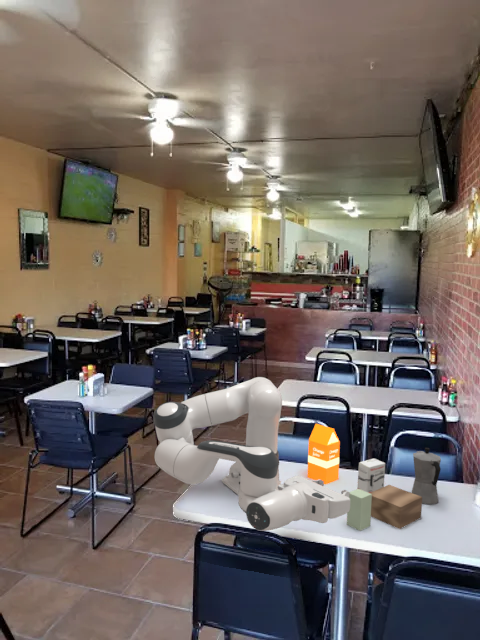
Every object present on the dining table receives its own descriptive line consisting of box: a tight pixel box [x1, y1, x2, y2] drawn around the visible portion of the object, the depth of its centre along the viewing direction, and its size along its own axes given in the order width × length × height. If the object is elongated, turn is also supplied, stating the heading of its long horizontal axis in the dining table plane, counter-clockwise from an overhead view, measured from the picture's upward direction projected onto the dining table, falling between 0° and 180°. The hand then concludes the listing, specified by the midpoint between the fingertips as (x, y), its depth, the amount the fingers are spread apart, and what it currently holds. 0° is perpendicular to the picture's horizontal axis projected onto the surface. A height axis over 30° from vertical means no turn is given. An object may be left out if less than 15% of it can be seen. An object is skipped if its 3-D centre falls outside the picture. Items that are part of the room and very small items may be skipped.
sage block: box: [346, 488, 372, 532], centre depth 154 cm, size 5×5×10 cm
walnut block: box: [370, 484, 423, 530], centre depth 161 cm, size 12×12×7 cm
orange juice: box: [307, 423, 341, 485], centre depth 189 cm, size 8×9×20 cm
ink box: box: [356, 458, 386, 493], centre depth 176 cm, size 8×5×12 cm, turn 123°
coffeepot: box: [411, 447, 442, 506], centre depth 172 cm, size 15×9×18 cm, turn 6°
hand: (334, 487), depth 145 cm, fingers open, 8 cm apart
